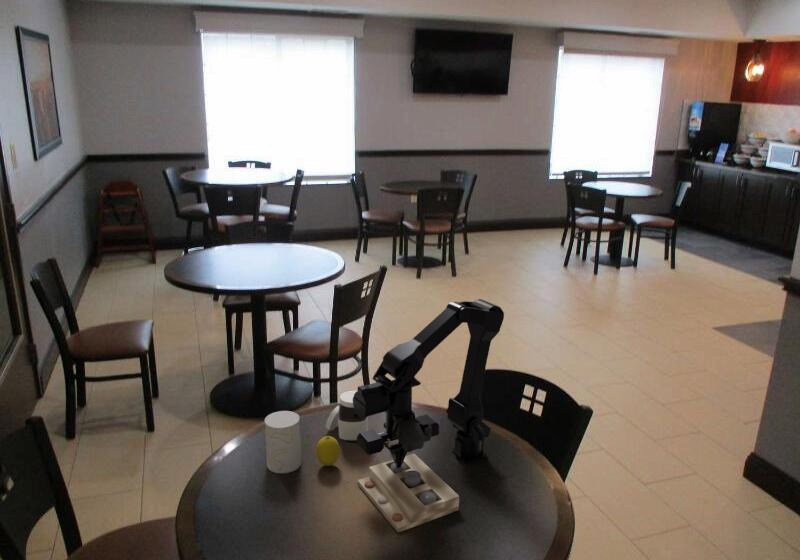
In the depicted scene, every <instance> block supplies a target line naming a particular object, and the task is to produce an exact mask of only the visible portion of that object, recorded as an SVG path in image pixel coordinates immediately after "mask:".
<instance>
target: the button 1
mask: <svg viewBox="0 0 800 560" xmlns="http://www.w3.org/2000/svg"><path fill="white" fill-rule="evenodd" d="M405 470H406V465H405V464H404V463H402V466H401V467H399V468H398V467H397V466H396V465H395V463H392V464H391V471H392V472H393V473H394V474H396V473H399V472H402V471H405Z"/></svg>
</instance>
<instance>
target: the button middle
mask: <svg viewBox="0 0 800 560" xmlns="http://www.w3.org/2000/svg"><path fill="white" fill-rule="evenodd" d="M404 484H405V485H406V486H407V487H408V488H414V487H417V486H420V485H421V474H420V473H419V472H418V471H414V470H411V471H407V472H406V473H405V480H404Z"/></svg>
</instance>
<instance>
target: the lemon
mask: <svg viewBox="0 0 800 560" xmlns="http://www.w3.org/2000/svg"><path fill="white" fill-rule="evenodd" d="M340 449H341V448H340V445H339V442H338V440H337V439H336V438H335V437H333V436H330V435H327V436H323V437H322V438H321V439H320V440H319V441H318V442H317V445H316V457H317V460H318V463H321V465H324V466H326V467H329V466H331V465H334V464H335V463H336V462H337V461H338V459H339V457H340V451H341V450H340Z"/></svg>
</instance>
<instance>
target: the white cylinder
mask: <svg viewBox="0 0 800 560" xmlns="http://www.w3.org/2000/svg"><path fill="white" fill-rule="evenodd" d="M300 421H301V418H300V415H299V414H298V413H297V412H294V411H290V410H279V411H276V412H272V413H270V414H268V415H267V416H266V417H265V418H264V431H265V432H264V433H265V452H266V467H267V469H268V470H269V471H270V472H273V473H275V474H288V473H291V472H294V471H297V470H298V469H299V468H300V467H301V464H302V447H301V446H302V443H301V442H302V441H301V424H300V423H301V422H300Z"/></svg>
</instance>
